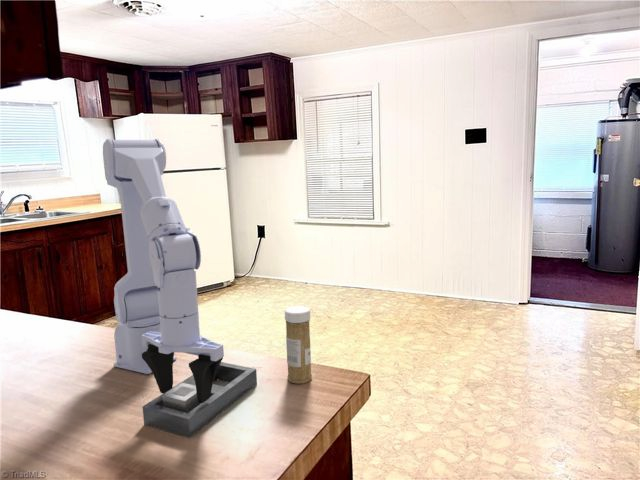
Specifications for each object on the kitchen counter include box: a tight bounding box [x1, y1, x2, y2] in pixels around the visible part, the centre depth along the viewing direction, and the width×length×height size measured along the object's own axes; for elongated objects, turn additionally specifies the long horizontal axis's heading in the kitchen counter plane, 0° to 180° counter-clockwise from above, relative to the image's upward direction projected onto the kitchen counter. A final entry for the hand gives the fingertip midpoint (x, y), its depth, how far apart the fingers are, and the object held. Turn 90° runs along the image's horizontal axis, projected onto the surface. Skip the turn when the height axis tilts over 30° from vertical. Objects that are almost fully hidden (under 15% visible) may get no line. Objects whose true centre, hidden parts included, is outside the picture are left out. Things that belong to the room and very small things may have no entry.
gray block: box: [161, 382, 201, 413], centre depth 75 cm, size 4×4×5 cm
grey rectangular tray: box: [142, 361, 258, 439], centre depth 79 cm, size 9×18×3 cm, turn 155°
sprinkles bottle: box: [284, 305, 313, 385], centre depth 87 cm, size 5×5×14 cm
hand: (185, 395), depth 75 cm, fingers open, 7 cm apart
